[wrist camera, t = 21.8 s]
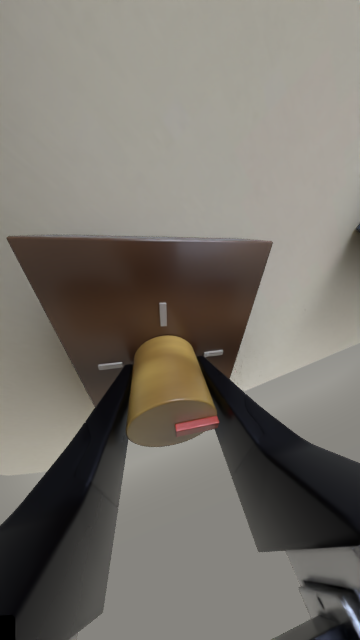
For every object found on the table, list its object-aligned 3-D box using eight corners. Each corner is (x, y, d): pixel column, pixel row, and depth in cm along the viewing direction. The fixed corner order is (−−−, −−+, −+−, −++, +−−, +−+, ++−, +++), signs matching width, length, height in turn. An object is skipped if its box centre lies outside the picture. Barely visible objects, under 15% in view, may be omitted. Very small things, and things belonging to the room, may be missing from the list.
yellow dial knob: (137, 382, 10) (132, 462, 7) (129, 338, 8) (114, 420, 5) (191, 374, 11) (213, 443, 7) (196, 332, 9) (228, 400, 5)
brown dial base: (51, 234, 8) (-1, 236, 5) (240, 238, 9) (276, 241, 7) (110, 391, 15) (103, 426, 12) (211, 376, 17) (223, 403, 14)
